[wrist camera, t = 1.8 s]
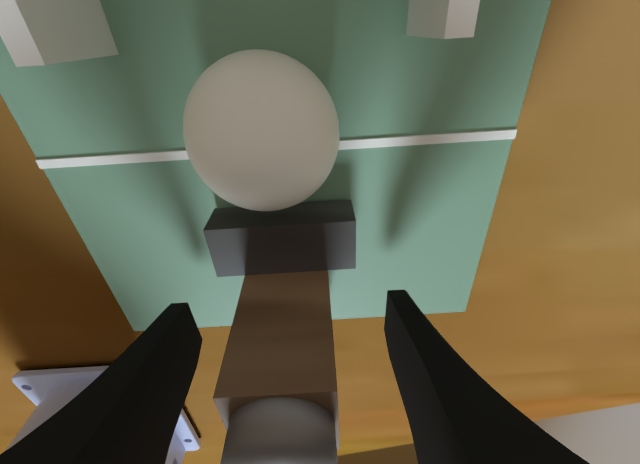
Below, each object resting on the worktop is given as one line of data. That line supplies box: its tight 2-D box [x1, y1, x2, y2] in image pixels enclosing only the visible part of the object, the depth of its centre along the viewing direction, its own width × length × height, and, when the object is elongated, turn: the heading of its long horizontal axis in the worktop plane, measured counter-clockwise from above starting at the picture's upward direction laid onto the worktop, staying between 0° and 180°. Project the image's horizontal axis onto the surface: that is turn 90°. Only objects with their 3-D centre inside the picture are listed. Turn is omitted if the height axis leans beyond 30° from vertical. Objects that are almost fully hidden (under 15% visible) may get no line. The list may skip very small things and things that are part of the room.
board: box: [0, 0, 551, 331], centre depth 11 cm, size 17×16×1 cm
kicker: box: [203, 200, 356, 464], centre depth 10 cm, size 5×5×7 cm
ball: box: [183, 49, 340, 211], centre depth 8 cm, size 4×4×4 cm
